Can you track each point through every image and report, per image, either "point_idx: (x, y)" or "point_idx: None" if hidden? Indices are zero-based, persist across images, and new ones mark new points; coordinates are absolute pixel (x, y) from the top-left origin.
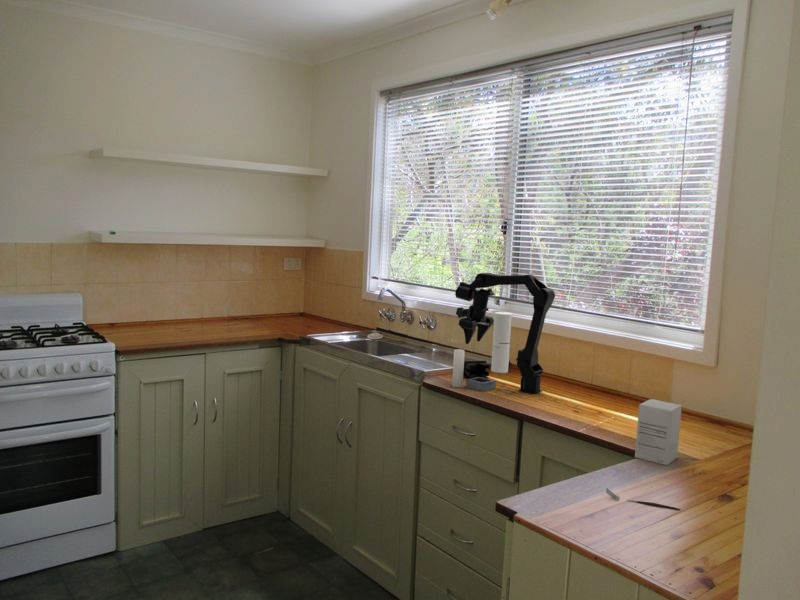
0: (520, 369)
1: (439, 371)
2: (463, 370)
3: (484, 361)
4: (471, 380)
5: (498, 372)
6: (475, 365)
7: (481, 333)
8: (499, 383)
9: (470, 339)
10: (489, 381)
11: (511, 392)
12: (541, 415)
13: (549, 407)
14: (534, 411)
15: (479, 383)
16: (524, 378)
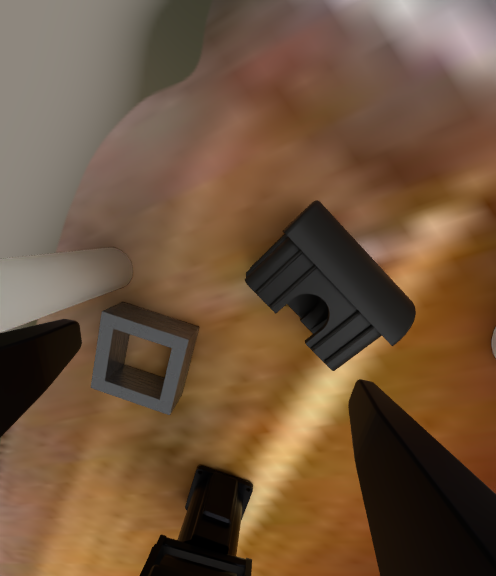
0: (145, 563)
1: (353, 56)
2: (67, 307)
3: (383, 336)
4: (103, 333)
5: (492, 343)
6: (271, 308)
7: (400, 558)
8: (269, 390)
9: (6, 412)
10: (139, 397)
11: (165, 447)
12: (6, 532)
13: (83, 544)
14: (24, 518)
15: (95, 368)
16: (185, 527)
